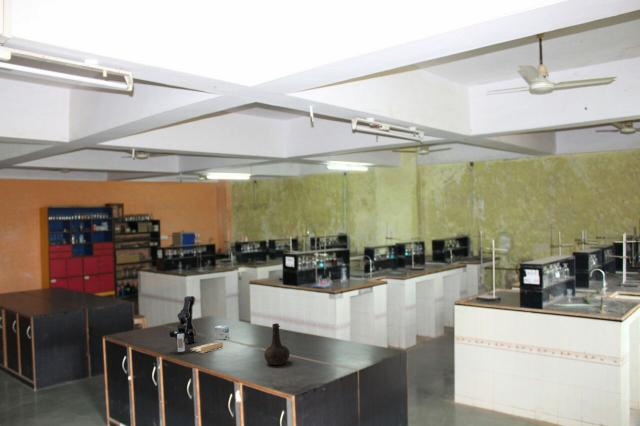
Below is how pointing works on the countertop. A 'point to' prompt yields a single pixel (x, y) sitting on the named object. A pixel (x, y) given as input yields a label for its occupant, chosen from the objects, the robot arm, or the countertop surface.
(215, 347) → the price rail
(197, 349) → the shelf board
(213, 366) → the countertop surface
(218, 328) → the light bulb box
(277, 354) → the glass bottle
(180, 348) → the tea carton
